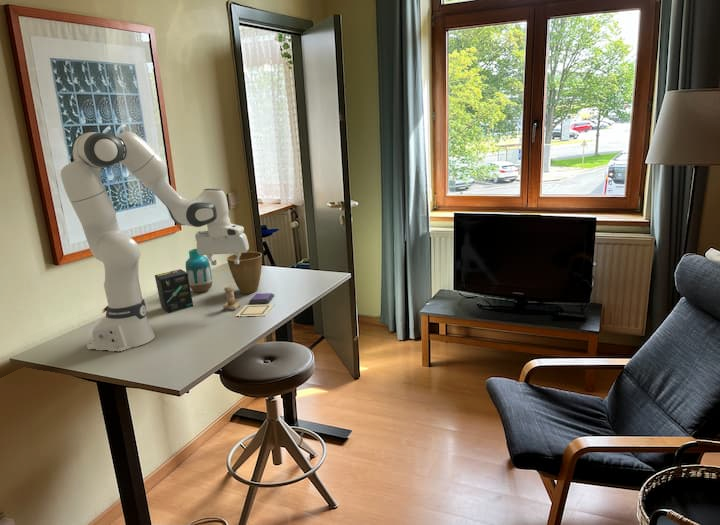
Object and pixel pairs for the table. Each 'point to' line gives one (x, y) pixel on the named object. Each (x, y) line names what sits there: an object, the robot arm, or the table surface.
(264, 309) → the sheet
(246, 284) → the plant pot
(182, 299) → the tampon box
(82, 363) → the table surface
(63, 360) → the table surface
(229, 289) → the stamp
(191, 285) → the vase
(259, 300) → the ink pad
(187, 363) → the table surface
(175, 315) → the table surface
